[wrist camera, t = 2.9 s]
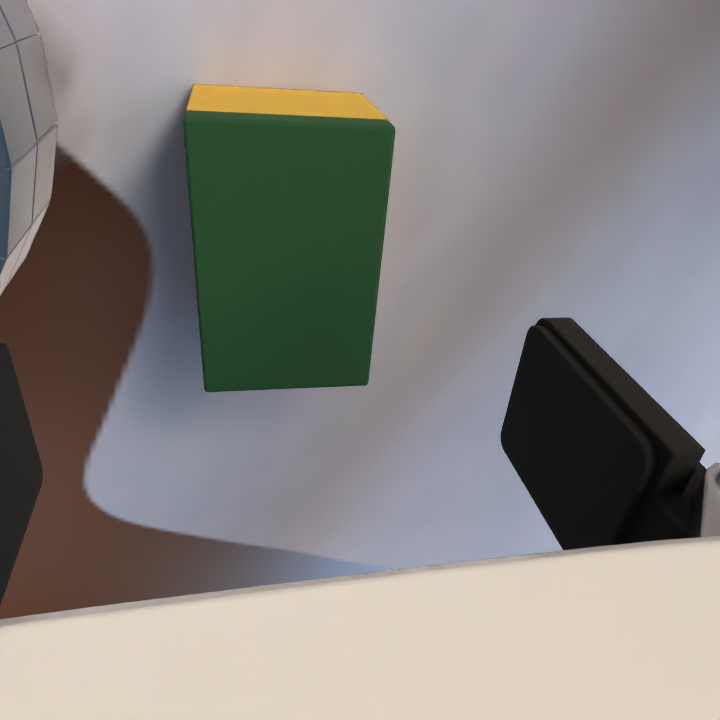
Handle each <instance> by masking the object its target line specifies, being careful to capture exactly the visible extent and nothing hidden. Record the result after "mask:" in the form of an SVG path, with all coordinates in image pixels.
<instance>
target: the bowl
mask: <svg viewBox="0 0 720 720" xmlns="http://www.w3.org/2000/svg"><path fill="white" fill-rule="evenodd" d="M38 32H39V29H38V27H37V24H36V22H35V20H34V17H33V15H32V13H31V11H30V8H29V6H28V4H27V1H26V0H0V295H1V294H2V292H3V291H4V289H5V288H6V286H7V285H8V283H9V282H10V280H11V279H12V277H13V276H14V274H15V273H16V271H17V270H18V268H19V267H20V265H21V264H22V263H23V261H24V259H25V258H26V256H27V254H28V252H29V249H30V247H31V245H32V242H33V240H34V238H35V235H36V233H37V231H38V228H39V226H40V224H41V221H42V219H43V217H44V215H45V212H46V210H47V207H48V205H49V203H50V201H49V200H50V198H51V196H52V185H53V173H54V161H55V149H56V139H57V124H56V122H57V118H56V113H55V108H54V102H53V97H52V92H51V87H50V81H49V76H48V71H47V65H46V60H45V55H44V50H43V44H42V39H41V36H40V35H39V34H37V33H38Z"/></svg>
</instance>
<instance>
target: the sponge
mask: <svg viewBox="0 0 720 720" xmlns="http://www.w3.org/2000/svg"><path fill="white" fill-rule="evenodd" d="M183 128H184V140H185V153H186V166H187V178H188V191H189V204H190V216H191V229H192V241H193V254H194V267H195V279H196V292H197V304H198V317H199V330H200V342H201V355H202V368H203V380H204V389H205V391H206V392H221V391H245V390H268V389H292V388H316V387H340V386H363V385H367V384H368V380H369V371H370V361H371V352H372V343H373V334H374V325H375V315H376V306H377V297H378V288H379V278H380V269H381V260H382V251H383V241H384V232H385V223H386V214H387V204H388V195H389V186H390V177H391V167H392V158H393V149H394V140H395V127H394V126H393V125H392V124H391V123H390V122H389V121H388V120H387V118H386V117H385V116H384V115H383V114H382V113H381V112H380V111H379V110H378V109H377V108H376V107H375V106H374V105H373V104H372V103H371V102H370V101H369V100H368V99H367V98H366V97H365V96H364V95H363V94H361V93H349V92H331V91H313V90H295V89H277V88H259V87H241V86H223V85H205V84H194V85H193V87H192V91H191V94H190V98H189V101H188V104H187V108H186V111H185V116H184V119H183Z"/></svg>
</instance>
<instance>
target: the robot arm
mask: <svg viewBox="0 0 720 720" xmlns="http://www.w3.org/2000/svg"><path fill="white" fill-rule="evenodd" d="M501 444H502V447H503V449H504V451H505V453H506V455H507V456H508V458H509V460H510V462H511V463H512V465H513V467H514V468H515V470H516V472H517V473H518V475H519V477H520V478H521V480H522V482H523V483H524V485H525V487H526V488H527V490H528V492H529V493H530V495H531V497H532V498H533V500H534V502H535V504H536V505H537V507H538V509H539V510H540V512H541V514H542V515H543V517H544V519H545V520H546V522H547V524H548V525H549V527H550V529H551V530H552V532H553V534H554V535H555V537H556V539H557V541H558V542H559V544H560V546H561V547H562V549H563V551H554V552H545V553H536V554H527V555H518V556H510V557H501V558H492V559H483V560H474V561H466V562H457V563H448V564H440V565H431V566H423V567H415V568H406V569H398V570H389V571H381V572H372V573H364V574H355V575H347V576H339V577H331V578H322V579H314V580H306V581H297V582H289V583H281V584H273V585H264V586H256V587H248V588H240V589H233V590H225V591H216V592H208V593H201V594H192V595H184V596H176V597H168V598H160V599H152V600H144V601H136V602H128V603H120V604H112V605H104V606H96V607H88V608H81V609H73V610H66V611H59V612H52V613H44V614H36V615H30V616H22V617H15V618H8V619H0V720H720V463H715V464H713V465H712V466H710V467H709V468H708V469H706V468H705V467H704V466H703V465H702V464H701V463H700V460H701V458H702V456H703V454H704V452H705V449H704V448H703V447H702V446H701V445H700V444H699V443H698V442H697V441H696V440H695V439H694V438H693V437H692V436H691V435H690V434H689V433H688V432H687V431H686V430H685V429H684V428H683V427H682V426H681V425H680V424H678V423H677V422H676V421H675V420H674V419H673V418H672V417H671V416H670V415H669V414H668V413H667V412H666V411H665V410H664V409H663V408H662V407H661V406H660V405H659V404H658V403H657V402H656V401H655V400H654V399H653V398H652V397H651V396H650V395H649V394H648V393H647V392H646V391H645V390H644V389H643V388H642V387H641V386H640V385H639V384H638V383H637V382H636V381H635V380H634V379H633V378H632V377H631V376H630V375H629V374H628V373H627V372H626V371H625V370H624V369H623V368H622V367H621V366H620V365H619V364H618V363H617V362H616V361H615V360H613V359H612V358H611V357H610V356H609V355H608V354H607V353H606V352H605V351H604V350H603V349H602V348H601V347H600V346H599V345H598V344H597V343H596V342H595V341H594V340H593V339H592V338H591V337H590V336H589V335H588V334H587V333H586V332H585V331H584V330H583V329H582V328H581V327H580V326H579V325H578V324H577V323H576V322H575V321H574V320H573V319H571V318H542V319H540V320H538V322H537V323H536V325H535V326H531V327H530V328H529V330H528V332H527V335H526V339H525V343H524V346H523V350H522V354H521V358H520V362H519V365H518V369H517V373H516V377H515V381H514V384H513V388H512V392H511V396H510V400H509V403H508V407H507V411H506V415H505V419H504V422H503V426H502V430H501ZM41 484H42V465H41V461H40V458H39V454H38V451H37V447H36V443H35V440H34V436H33V433H32V429H31V426H30V422H29V419H28V415H27V412H26V408H25V405H24V401H23V398H22V394H21V390H20V387H19V383H18V380H17V376H16V373H15V369H14V366H13V362H12V359H11V355H10V352H9V349H8V347H7V345H6V344H4V343H0V604H1V601H2V599H3V596H4V593H5V590H6V587H7V584H8V581H9V578H10V575H11V572H12V569H13V567H14V563H15V561H16V558H17V555H18V552H19V549H20V546H21V543H22V540H23V537H24V534H25V531H26V529H27V525H28V523H29V520H30V517H31V514H32V511H33V508H34V505H35V502H36V499H37V496H38V493H39V491H40V488H41Z"/></svg>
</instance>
